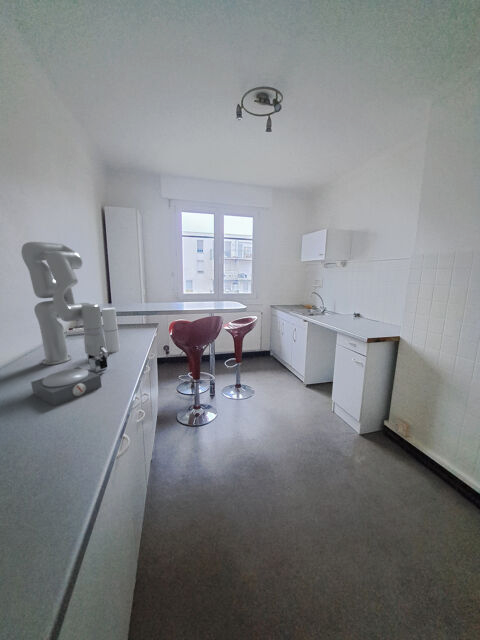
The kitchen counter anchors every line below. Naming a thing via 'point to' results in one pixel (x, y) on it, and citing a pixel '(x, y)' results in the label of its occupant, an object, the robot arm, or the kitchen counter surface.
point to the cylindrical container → (110, 329)
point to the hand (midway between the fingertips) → (98, 366)
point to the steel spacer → (95, 364)
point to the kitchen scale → (65, 385)
